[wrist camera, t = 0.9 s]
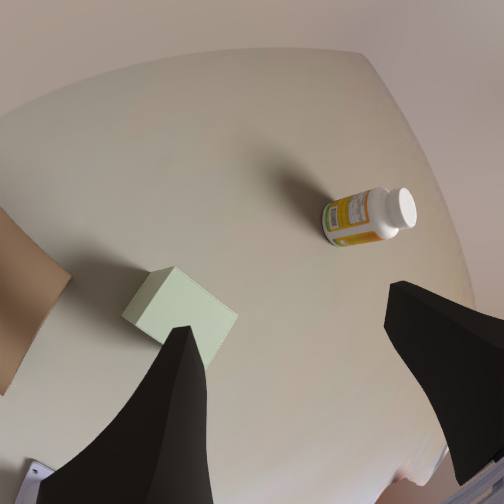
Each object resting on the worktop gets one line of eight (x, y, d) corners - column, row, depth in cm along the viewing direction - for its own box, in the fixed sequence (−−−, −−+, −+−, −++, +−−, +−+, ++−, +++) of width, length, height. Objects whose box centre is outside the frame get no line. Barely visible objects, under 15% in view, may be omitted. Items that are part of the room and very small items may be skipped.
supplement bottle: (355, 232, 35) (423, 218, 27) (335, 256, 32) (410, 245, 24) (336, 194, 34) (404, 172, 26) (313, 216, 31) (389, 194, 23)
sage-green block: (173, 352, 21) (205, 370, 16) (121, 315, 19) (135, 325, 14) (200, 310, 23) (238, 315, 18) (150, 272, 21) (175, 266, 16)
